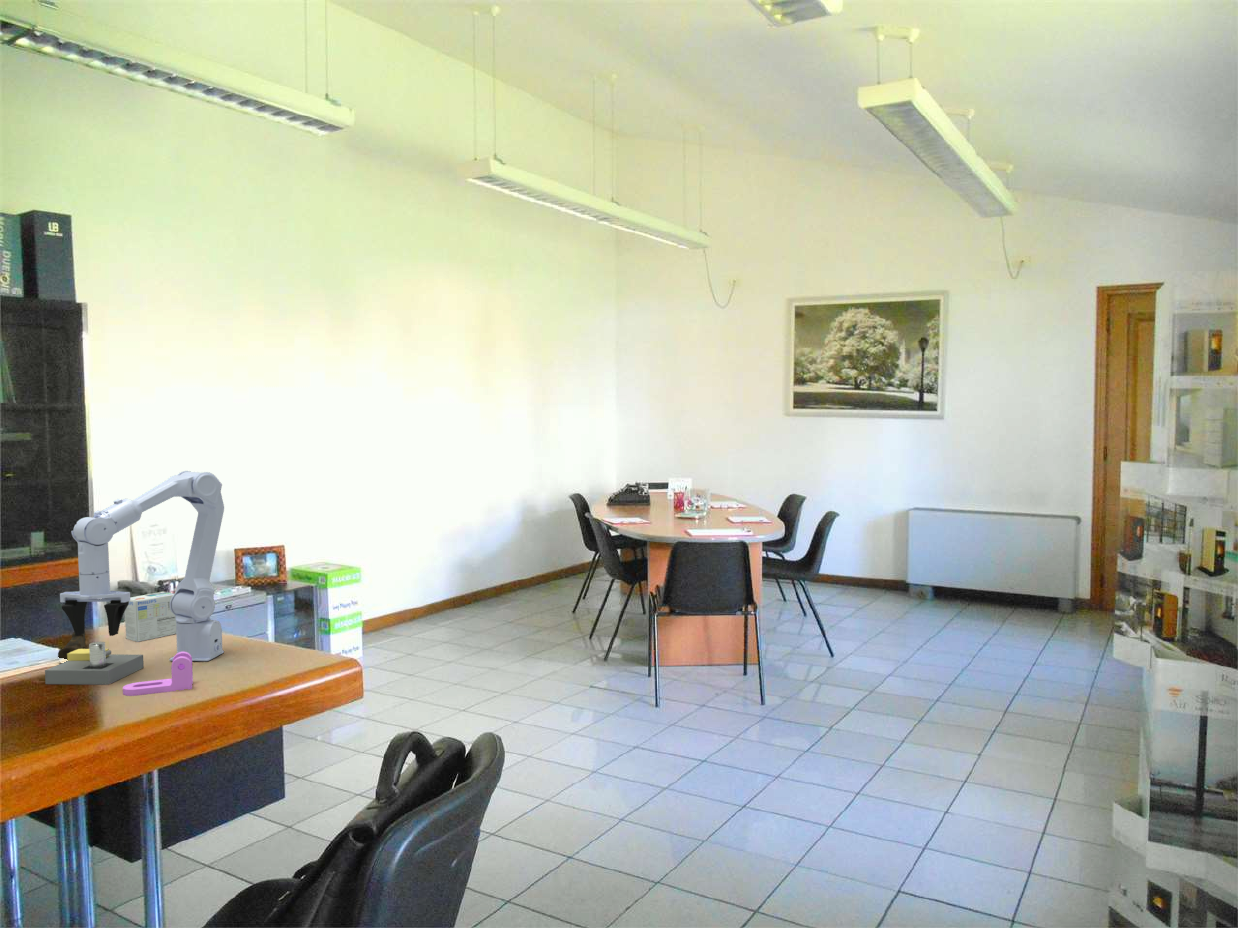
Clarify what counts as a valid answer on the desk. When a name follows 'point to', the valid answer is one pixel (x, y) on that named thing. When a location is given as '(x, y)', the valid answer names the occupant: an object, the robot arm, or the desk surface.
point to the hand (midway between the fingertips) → (96, 634)
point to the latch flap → (82, 655)
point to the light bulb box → (149, 617)
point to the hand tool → (73, 645)
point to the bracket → (179, 680)
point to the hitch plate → (94, 670)
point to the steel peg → (97, 655)
